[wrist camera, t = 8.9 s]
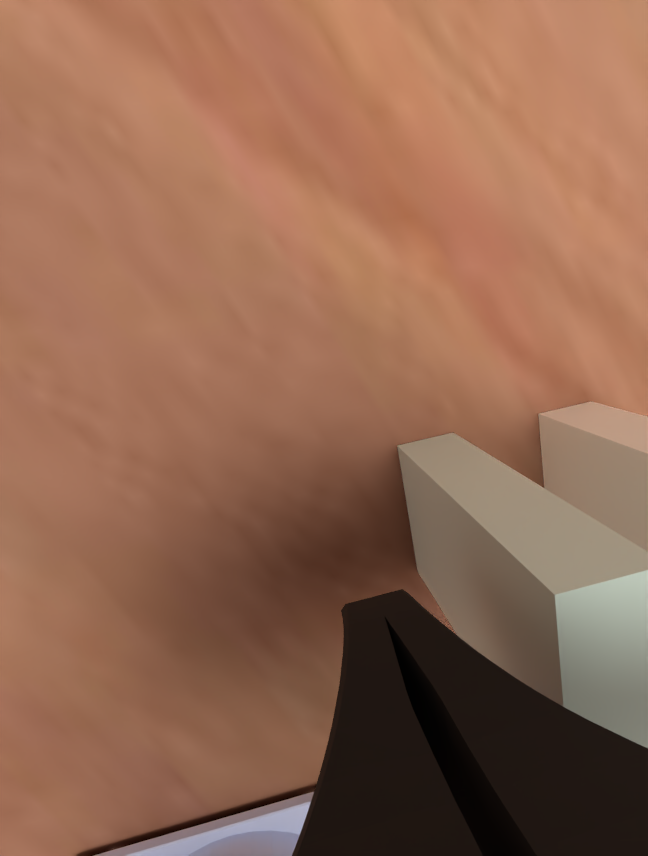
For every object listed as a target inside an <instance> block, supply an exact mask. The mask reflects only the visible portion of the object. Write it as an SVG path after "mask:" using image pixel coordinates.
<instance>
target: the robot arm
mask: <svg viewBox="0 0 648 856" xmlns="http://www.w3.org/2000/svg"><path fill="white" fill-rule="evenodd" d="M341 612H342V617H343V624H344V646H343V659H342V668H341V677H340V685H339V691H338V696H337V702H336V707H335V713H334V718H333V723H332V728H331V732H330V737H329V741H328V745H327V749H326V753H325V756H324V760H323V764H322V767H321V771H320V775H319V778H318V781H317V784H316V787H315V791H314V792H310V793H307V794H303V795H300V796H297V797H293V798H290V799H286V800H283V801H279V802H276V803H273V804H269V805H266V806H262V807H259V808H255V809H252V810H248V811H245V812H242V813H238V814H235V815H231V816H228V817H224V818H221V819H218V820H214V821H211V822H207V823H204V824H200V825H197V826H193V827H190V828H187V829H183V830H180V831H176V832H173V833H169V834H166V835H163V836H159V837H156V838H152V839H149V840H145V841H142V842H138V843H135V844H132V845H128V846H125V847H121V848H118V849H114V850H111V851H108V852H104V853H101V854H97V855H94V856H648V748H646V747H644V746H641V745H639V744H637V743H635V742H633V741H631V740H629V739H627V738H625V737H623V736H621V735H618V734H616V733H614V732H612V731H610V730H608V729H606V728H604V727H602V726H600V725H598V724H596V723H593V722H591V721H589V720H587V719H586V718H584V717H582V716H580V715H578V714H576V713H574V712H572V711H570V710H568V709H567V708H565V707H563V706H561V705H560V704H558V703H556V702H555V701H553V700H551V699H549V698H548V697H546V696H544V695H542V694H541V693H539V692H537V691H536V690H534V689H533V688H531V687H529V686H528V685H526V684H525V683H523V682H521V681H520V680H518V679H517V678H515V677H514V676H512V675H511V674H509V673H508V672H506V671H505V670H503V669H502V668H500V667H499V666H498V665H496V664H495V663H493V662H492V661H490V660H489V659H487V658H486V657H485V656H483V655H482V654H481V653H479V652H478V651H476V650H475V649H474V648H473V647H471V646H470V645H469V644H467V643H466V642H465V641H463V640H462V639H461V638H460V637H458V636H457V635H456V634H454V633H453V632H452V631H451V630H449V629H448V628H447V627H446V626H444V625H443V624H442V623H441V622H440V621H438V620H437V619H436V618H435V617H434V616H433V615H431V614H430V613H429V612H428V611H427V610H426V609H425V608H423V607H422V606H421V605H420V604H419V603H418V602H417V601H416V600H415V599H414V598H413V597H411V596H410V595H409V594H408V593H407V592H405V591H404V590H398V591H394V592H390V593H387V594H383V595H379V596H375V597H371V598H367V599H364V600H360V601H356V602H352V603H348V604H345V606H344V607H343V609H342V610H341Z"/></svg>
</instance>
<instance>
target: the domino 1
mask: <svg viewBox="0 0 648 856" xmlns="http://www.w3.org/2000/svg"><path fill="white" fill-rule="evenodd" d="M397 448H398V454H399V460H400V466H401V472H402V479H403V485H404V491H405V497H406V503H407V509H408V516H409V522H410V528H411V534H412V540H413V546H414V553H415V559H416V565H417V571H418V573H419V575H420V576H421V578H422V580H423V581H424V583H425V584H426V586H427V588H428V589H429V591H430V592H431V594H432V596H433V597H434V599H435V600H436V602H437V604H438V605H439V607H440V608H441V610H442V612H443V613H444V615H445V616H446V618H447V620H448V621H449V623H450V624H451V626H452V628H453V629H454V631H455V632H456V634H457V636H458V637H460V638H461V639H462V640H463V641H465V642H466V643H467V644H469V645H470V646H471V647H473V648H474V649H475V650H476V651H478V652H479V653H481V654H482V655H483V656H485V657H486V658H487V659H489V660H490V661H492V662H493V663H495V664H496V665H498V666H499V667H500V668H502V669H503V670H505V671H506V672H508V673H509V674H511V675H512V676H514V677H515V678H517V679H518V680H520V681H521V682H523V683H525V684H526V685H528V686H529V687H531V688H533V689H534V690H536V691H537V692H539V693H541V694H542V695H544V696H546V697H548V698H549V699H551V700H553V701H555V702H556V703H558V704H560V705H561V706H563V707H565V708H567V709H568V710H570V711H572V712H574V713H576V714H578V715H580V716H582V717H584V718H586V719H587V720H589V721H591V722H593V723H596V724H598V725H600V726H602V727H604V728H606V729H608V730H610V731H612V732H614V733H616V734H618V735H621V736H623V737H625V738H627V739H629V740H631V741H633V742H635V743H637V744H639V745H641V746H644V747H646V748H648V552H647V551H646V550H644V549H642V548H641V547H639V546H638V545H636V544H634V543H633V542H631V541H629V540H628V539H626V538H625V537H623V536H621V535H620V534H618V533H616V532H615V531H613V530H611V529H610V528H608V527H607V526H605V525H603V524H602V523H600V522H598V521H597V520H595V519H594V518H592V517H590V516H589V515H587V514H585V513H584V512H582V511H581V510H579V509H577V508H576V507H574V506H572V505H571V504H569V503H567V502H566V501H564V500H563V499H561V498H559V497H558V496H556V495H554V494H553V493H551V492H550V491H548V490H546V489H545V488H543V487H541V486H540V485H538V484H537V483H535V482H533V481H532V480H530V479H528V478H527V477H525V476H524V475H522V474H520V473H519V472H517V471H515V470H514V469H512V468H510V467H509V466H507V465H506V464H504V463H502V462H501V461H499V460H497V459H496V458H494V457H493V456H491V455H489V454H488V453H486V452H484V451H483V450H481V449H480V448H478V447H476V446H475V445H473V444H471V443H470V442H468V441H466V440H465V439H463V438H462V437H460V436H458V435H457V434H455V433H449V434H445V435H440V436H436V437H432V438H427V439H423V440H419V441H414V442H410V443H406V444H401V445H397Z"/></svg>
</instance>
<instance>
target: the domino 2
mask: <svg viewBox="0 0 648 856" xmlns="http://www.w3.org/2000/svg"><path fill="white" fill-rule="evenodd" d="M538 417H539V429H540V442H541V454H542V467H543V480H544V488H545V489H546V490H548V491H550V492H551V493H553V494H554V495H556V496H558V497H559V498H561V499H563V500H564V501H566V502H567V503H569V504H571V505H572V506H574V507H576V508H577V509H579V510H581V511H582V512H584V513H585V514H587V515H589V516H590V517H592V518H594V519H595V520H597V521H598V522H600V523H602V524H603V525H605V526H607V527H608V528H610V529H611V530H613V531H615V532H616V533H618V534H620V535H621V536H623V537H625V538H626V539H628V540H629V541H631V542H633V543H634V544H636V545H638V546H639V547H641V548H642V549H644V550H646V551H647V552H648V416H644V415H640V414H637V413H633V412H629V411H626V410H622V409H618V408H615V407H611V406H607V405H603V404H600V403H596V402H592V401H591V402H586V403H582V404H578V405H573V406H569V407H565V408H561V409H556V410H552V411H548V412H543V413H539V414H538Z"/></svg>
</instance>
